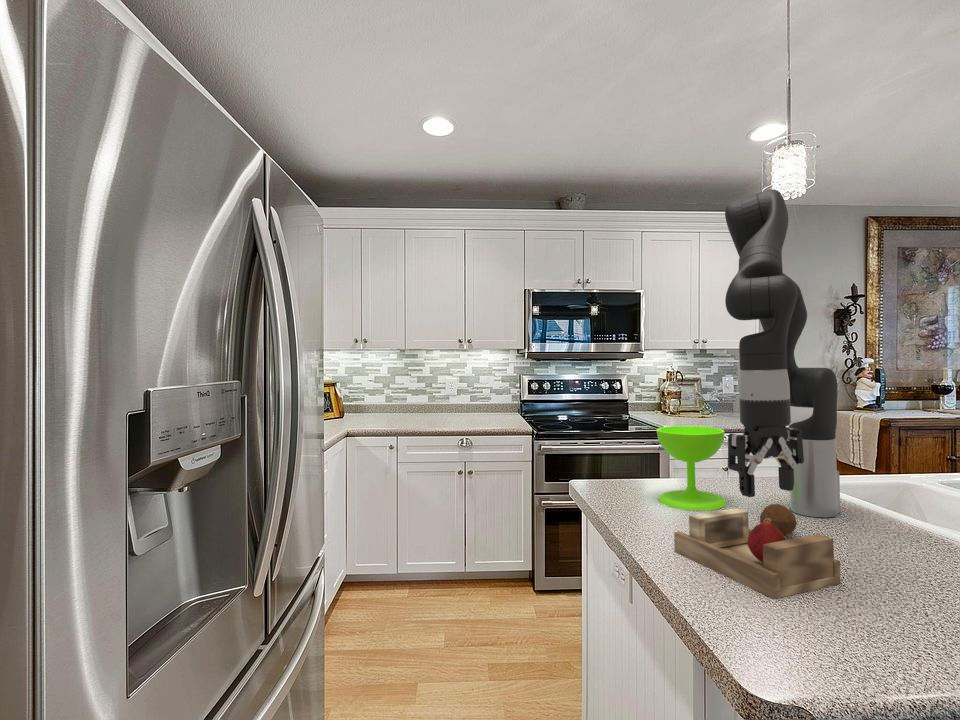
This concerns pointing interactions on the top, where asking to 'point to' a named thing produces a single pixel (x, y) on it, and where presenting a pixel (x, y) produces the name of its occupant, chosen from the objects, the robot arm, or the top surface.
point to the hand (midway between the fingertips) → (767, 492)
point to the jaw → (720, 527)
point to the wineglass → (691, 463)
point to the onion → (763, 537)
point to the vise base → (769, 563)
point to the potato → (780, 518)
